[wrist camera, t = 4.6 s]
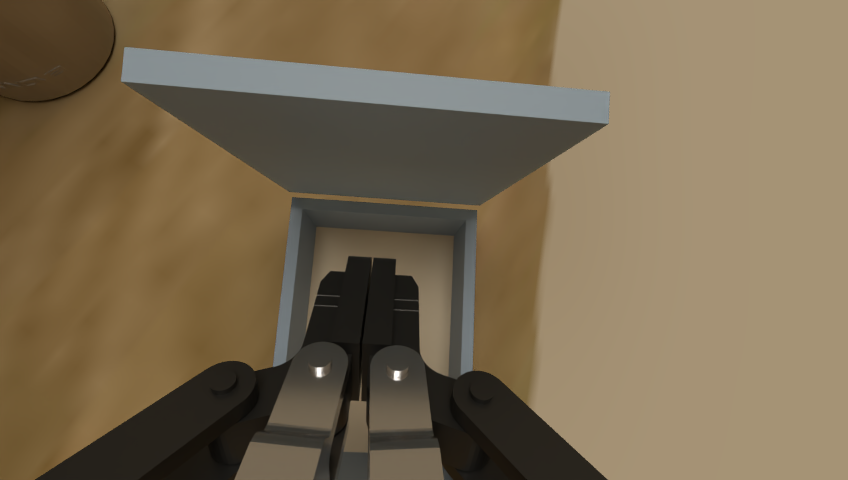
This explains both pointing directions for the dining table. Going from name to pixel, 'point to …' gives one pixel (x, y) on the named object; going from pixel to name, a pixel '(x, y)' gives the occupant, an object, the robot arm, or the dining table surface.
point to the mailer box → (415, 256)
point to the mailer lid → (368, 124)
